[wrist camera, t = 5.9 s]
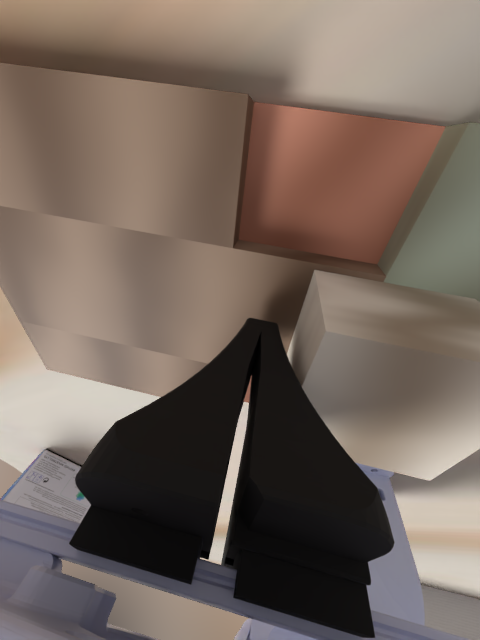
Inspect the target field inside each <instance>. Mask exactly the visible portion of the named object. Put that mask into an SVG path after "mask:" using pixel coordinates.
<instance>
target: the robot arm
mask: <svg viewBox="0 0 480 640" xmlns="http://www.w3.org/2000/svg"><path fill="white" fill-rule="evenodd" d="M251 375H252V376H251ZM250 379H251V387H250V398H249V409H248V420H247V428H246V434H245V439H244V445H243V450H242V456H241V461H240V467H239V472H238V478H237V483H236V488H235V494H234V499H233V505H232V510H231V515H230V521H229V526H228V531H227V537H226V542H225V547H224V553H223V558H222V564H221V565H219V564H215V563H212V562H209V561H205V560H202V559H200V557H201V558H205V559H209V554H210V550H211V547H212V542H213V537H214V532H215V527H216V523H217V518H218V513H219V508H220V503H221V498H222V494H223V489H224V484H225V479H226V474H227V470H228V465H229V460H230V455H231V450H232V446H233V441H234V436H235V431H236V427H237V423H238V419H239V415H240V412H241V409H242V405H243V402H244V399H245V395H246V392H247V389H248V385H249V382H250ZM393 475H394V472H391V471H387V470H383V469H379V468H375V467H371V466H367V465H363V464H359V463H355V462H354V461H353V459H352V458H351V457H350V456H349V455H348V454H347V452H346V451H345V450H344V448H343V447H342V446H341V445H340V443H339V442H338V441H337V439H336V438H335V437H334V436H333V434H332V433H331V431H330V430H329V429H328V427H327V426H326V424H325V423H324V421H323V420H322V419H321V417H320V416H319V414H318V413H317V411H316V410H315V408H314V407H313V405H312V403H311V402H310V400H309V399H308V397H307V395H306V393H305V392H304V390H303V388H302V386H301V385H300V383H299V381H298V379H297V377H296V375H295V373H294V370H293V368H292V366H291V364H290V361H289V359H288V356H287V354H286V351H285V348H284V346H283V343H282V339H281V336H280V332H279V327H278V324H277V323H274V322H269V321H264V320H259V319H254V318H248V319H247V320H246V322H245V324H244V325H243V327H242V328H241V329H240V331H239V332H238V333H237V335H236V336H235V337H234V338H233V339H232V340H231V342H230V343H229V344H228V345H227V346H226V347H225V348H224V349H223V350H222V351H221V352H220V353H219V354H218V355H217V356H216V357H215V358H214V359H213V360H212V361H211V362H210V363H208V364H207V365H206V366H205V367H204V368H202V369H201V370H200V371H199V372H198V373H196V374H195V375H194V376H192V377H191V378H190V379H188V380H187V381H185V382H184V383H183V384H181V385H180V386H178V387H177V388H175V389H174V390H172V391H170V392H169V393H167V394H166V395H164V396H162V397H161V398H159V399H157V400H156V401H154V402H152V403H151V404H149V405H147V406H145V407H143V408H141V409H139V410H138V411H136V412H134V413H132V414H130V415H128V416H126V417H124V418H122V419H120V420H118V421H117V422H115V423H114V425H113V426H112V427H111V428H110V429H109V431H108V432H107V433H106V434H105V435H104V436H103V438H102V439H101V440H100V441H99V443H98V444H97V445H96V447H95V448H94V450H93V451H92V453H91V454H90V455H89V457H88V458H87V460H86V461H85V463H84V464H83V466H82V467H81V469H80V470H79V472H78V473H77V475H76V477H75V483H76V486H77V487H78V489H79V490H80V492H81V493H82V494H83V495H84V497H85V498H86V499H87V500H88V501H89V503H90V504H91V506H90V508H89V510H88V511H87V513H86V515H85V516H84V518H83V520H82V522H81V523H77V522H74V521H71V520H67V519H64V518H61V517H57V516H54V515H51V514H47V513H44V512H40V511H37V510H34V509H30V508H27V507H24V506H20V505H17V504H14V503H10V502H7V501H3V500H0V640H159V639H156V638H152V637H149V636H146V635H143V634H140V633H137V632H134V631H130V630H127V629H124V628H121V627H118V626H114V625H111V624H108V623H107V621H108V617H109V615H110V612H111V610H112V607H113V605H114V602H115V600H116V595H115V594H114V593H112V592H109V591H107V590H104V589H102V588H100V587H97V586H96V585H95V584H92V583H89V582H86V581H83V580H80V579H77V578H74V577H72V576H69V575H66V574H63V573H61V570H62V561H61V559H63V560H66V561H69V562H72V563H76V564H79V565H82V566H85V567H88V568H92V569H95V570H98V571H101V572H104V573H107V574H111V575H114V576H117V577H121V578H123V579H127V580H130V581H133V582H136V583H140V584H142V585H146V586H149V587H152V588H155V589H159V590H162V591H165V592H168V593H172V594H174V595H178V596H181V597H184V598H187V599H190V600H194V601H197V602H200V603H203V604H207V605H210V606H213V607H216V608H219V609H222V610H225V611H229V612H232V613H235V614H238V615H241V616H245V617H248V618H249V619H247V620H246V621H245V622H244V623H243V625H242V627H241V629H240V630H239V632H238V633H237V634H236V636H235V638H234V640H471V639H467V638H464V637H461V636H457V635H454V634H451V633H447V632H444V631H440V630H437V629H434V628H430V627H427V626H425V612H424V601H423V594H422V588H421V583H420V579H419V575H418V572H417V568H416V565H415V562H414V558H413V555H412V551H411V548H410V545H409V541H408V538H407V535H406V531H405V528H404V525H403V521H402V518H401V515H400V511H399V508H398V505H397V501H396V498H395V495H394V491H393V488H392V485H391V481H390V477H392V476H393ZM59 558H60V559H59Z"/></svg>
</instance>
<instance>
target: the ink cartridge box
mask: <svg viewBox="0 0 480 640" xmlns="http://www.w3.org/2000/svg"><path fill="white" fill-rule="evenodd" d="M80 469H81V467H80V466H78V465H76V464H74V463H72V462H70V461H68V460H66V459H64V458H62V457H60V456H58V455H56V454H54V453H52V452H50V451H48V450H44V451H43V452H42V453H41V454H40V455H38V457H37V458H36V459H35V460H34V461H33V462H32V463H31V465H30V466H29V467H28V468H27V469H26V470H25V471H24V472H23V473H22V475H21V476H20V477H19V478H18V479H17V480H16V481H15V483H14V484H13V485H12V486H11V487H10V488H9V489H8V491H7V492H6V493H5V494H4V495H3V496H2V498H1V499H0V500H3V501H7V502H10V503H14V504H17V505H20V506H24V507H27V508H30V509H34V510H37V511H40V512H44V513H47V514H51V515H54V516H57V517H61V518H64V519H67V520H71V521H74V522H77V523H81V522H82V520H83V518H84V516H85V515H86V513H87V511H88V510H89V508H90V506H91V504H90V503H89V501H88V500H87V499H86V498H85V497H84V495H83V494H82V493H81V492H80V490H79V489H78V487H77V486H76V483H75V477H76V475H77V473H78V472H79V470H80ZM59 559H60V558H59Z"/></svg>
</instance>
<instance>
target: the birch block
mask: <svg viewBox="0 0 480 640" xmlns="http://www.w3.org/2000/svg"><path fill="white" fill-rule="evenodd" d="M287 356H288V359H289V361H290V364H291V366H292V368H293V370H294V373H295V375H296V377H297V379H298V381H299V383H300V385H301V386H302V388H303V390H304V392H305V393H306V395H307V397H308V399H309V400H310V402H311V403H312V405H313V407H314V408H315V410H316V411H317V413H318V414H319V416H320V417H321V419H322V420H323V421H324V423H325V424H326V426H327V427H328V429H329V430H330V431H331V433H332V434H333V436H334V437H335V438H336V439H337V441H338V442H339V443H340V445H341V446H342V447H343V448H344V450H345V451H346V452H347V454H348V455H349V456H350V457H351V458H352V459H353V461H354V462H355V463H359V464H363V465H367V466H371V467H375V468H379V469H383V470H387V471H391V472H395V473H399V474H404V475H408V476H412V477H416V478H420V479H424V480H428V481H431V480H432V479H434V478H435V477H437V476H438V475H440V474H441V473H443V472H445V471H446V470H448V469H449V468H451V467H452V466H454V465H455V464H457V463H458V462H460V461H462V460H463V459H465V458H466V457H468V456H469V455H471V454H472V453H474V452H476V451H477V450H479V449H480V302H479V301H477V300H476V299H473V298H468V297H462V296H457V295H451V294H446V293H440V292H435V291H429V290H424V289H418V288H412V287H407V286H401V285H396V284H390V283H385V282H379V281H374V280H368V279H363V278H357V277H352V276H346V275H341V274H335V273H330V272H324V271H319V270H314V273H313V276H312V279H311V282H310V285H309V288H308V291H307V294H306V297H305V300H304V303H303V306H302V309H301V312H300V316H299V319H298V322H297V325H296V328H295V331H294V334H293V337H292V340H291V343H290V346H289V349H288V352H287Z"/></svg>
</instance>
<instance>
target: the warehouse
mask: <svg viewBox="0 0 480 640" xmlns="http://www.w3.org/2000/svg"><path fill="white" fill-rule="evenodd" d="M421 588H422V594H423V601H424V612H425V626H427V627H430V628H434V629H437V630H440V631H444V632H447V633H451V634H454V635H457V636H461V637H464V638H467V639H471V640H480V599H477V598H473V597H469V596H465V595H461V594H457V593H453V592H449V591H444V590H440V589H436V588H432V587H428V586H424V585H421Z"/></svg>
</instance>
